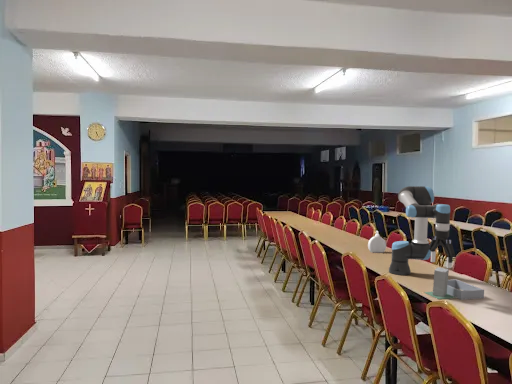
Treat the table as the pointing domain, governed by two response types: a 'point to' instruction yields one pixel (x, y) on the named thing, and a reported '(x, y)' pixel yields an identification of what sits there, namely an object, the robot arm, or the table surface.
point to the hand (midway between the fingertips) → (440, 264)
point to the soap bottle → (377, 244)
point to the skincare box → (440, 282)
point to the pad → (440, 297)
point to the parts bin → (468, 292)
